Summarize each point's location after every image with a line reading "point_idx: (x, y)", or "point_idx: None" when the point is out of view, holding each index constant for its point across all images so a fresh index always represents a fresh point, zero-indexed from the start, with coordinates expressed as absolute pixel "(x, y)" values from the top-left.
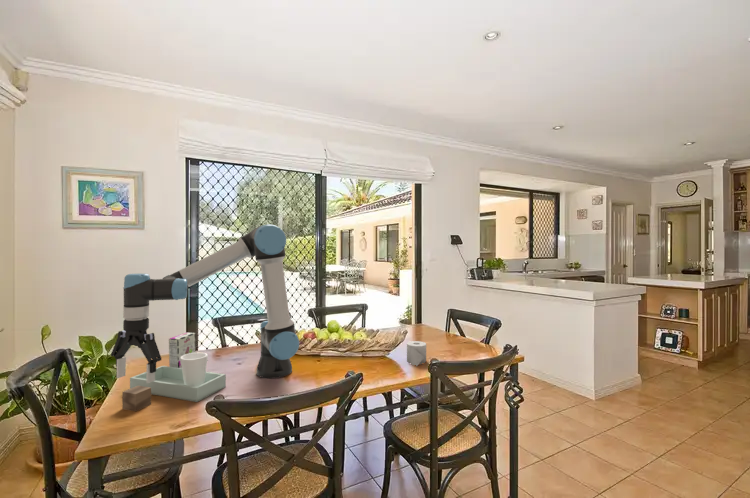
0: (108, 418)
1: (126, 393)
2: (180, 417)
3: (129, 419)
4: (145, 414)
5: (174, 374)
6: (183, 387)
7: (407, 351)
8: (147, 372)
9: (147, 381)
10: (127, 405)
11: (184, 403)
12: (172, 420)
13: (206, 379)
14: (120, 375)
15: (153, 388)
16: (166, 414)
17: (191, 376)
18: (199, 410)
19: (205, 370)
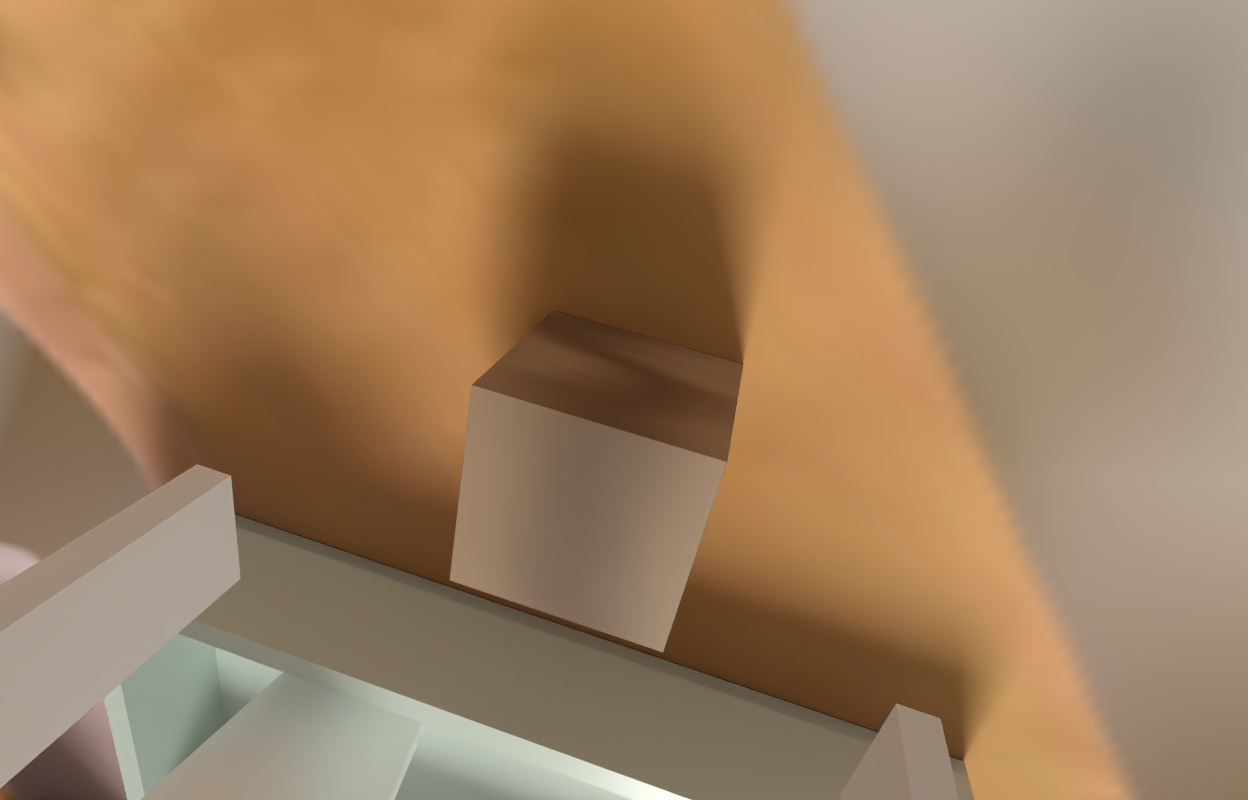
0: (730, 110)
1: (646, 430)
2: (65, 209)
3: (468, 113)
4: (403, 247)
5: None
6: (240, 621)
7: None
8: (8, 593)
9: (186, 484)
10: (658, 359)
11: (261, 477)
12: (72, 140)
13: None
14: (883, 769)
15: (643, 707)
16: (221, 260)
17: (200, 765)
18: (49, 350)
19: None
